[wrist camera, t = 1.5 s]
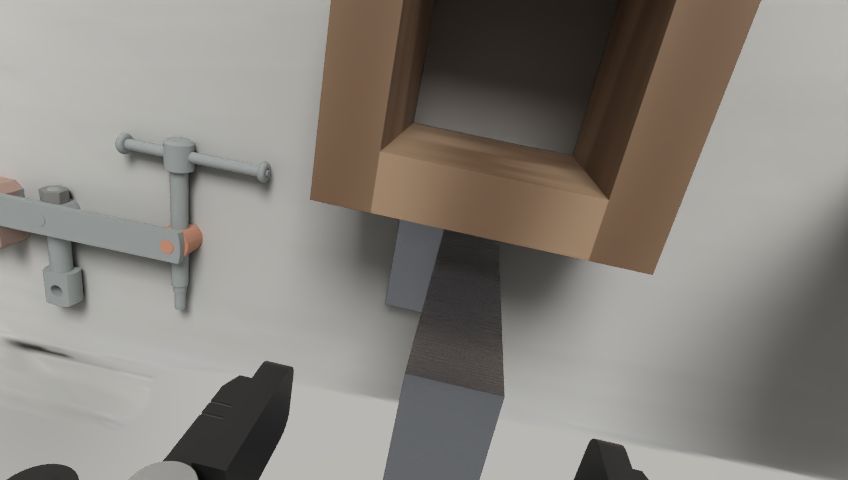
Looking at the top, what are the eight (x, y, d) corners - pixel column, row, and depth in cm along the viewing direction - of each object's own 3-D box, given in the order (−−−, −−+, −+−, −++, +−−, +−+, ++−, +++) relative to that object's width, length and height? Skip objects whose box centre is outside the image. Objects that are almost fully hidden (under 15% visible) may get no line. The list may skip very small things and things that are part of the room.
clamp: (-28, 294, 26) (-63, 98, 22) (10, 277, 28) (-16, 95, 24) (249, 356, 25) (259, 163, 21) (268, 334, 27) (280, 154, 23)
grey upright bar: (497, 230, 23) (504, 397, 12) (476, 312, 24) (464, 528, 13) (404, 210, 23) (323, 354, 12) (389, 292, 25) (306, 488, 13)
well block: (700, -77, 18) (821, -153, 11) (604, 209, 22) (652, 274, 15) (403, -131, 18) (355, -233, 12) (362, 158, 22) (310, 199, 16)
